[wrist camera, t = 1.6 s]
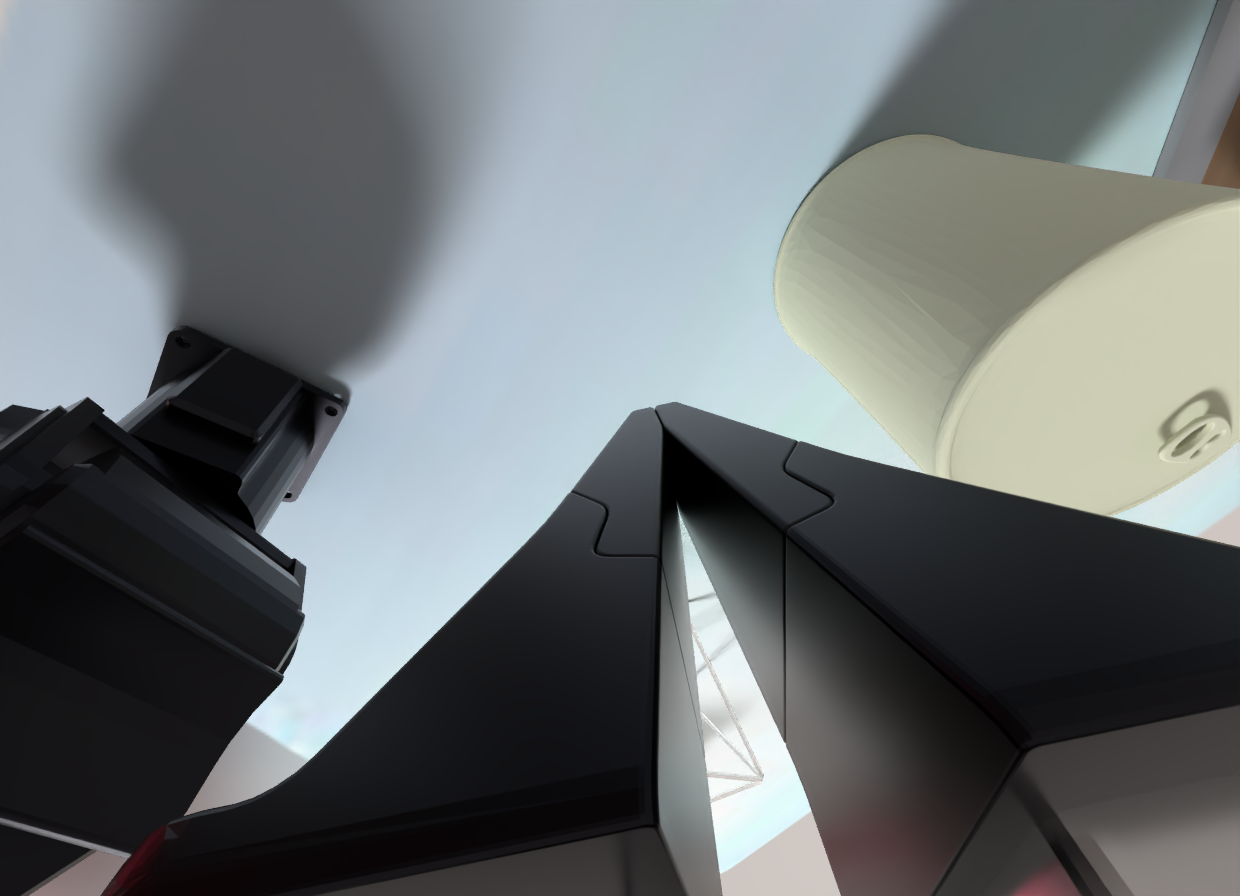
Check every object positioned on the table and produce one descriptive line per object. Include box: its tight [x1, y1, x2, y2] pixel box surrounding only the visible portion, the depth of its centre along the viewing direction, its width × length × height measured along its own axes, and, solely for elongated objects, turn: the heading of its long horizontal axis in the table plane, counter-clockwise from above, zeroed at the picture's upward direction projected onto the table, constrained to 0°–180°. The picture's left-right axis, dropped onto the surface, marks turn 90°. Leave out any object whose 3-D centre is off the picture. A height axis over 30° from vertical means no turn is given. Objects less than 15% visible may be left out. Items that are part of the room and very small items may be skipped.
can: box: [774, 134, 1240, 517], centre depth 17 cm, size 9×9×12 cm
